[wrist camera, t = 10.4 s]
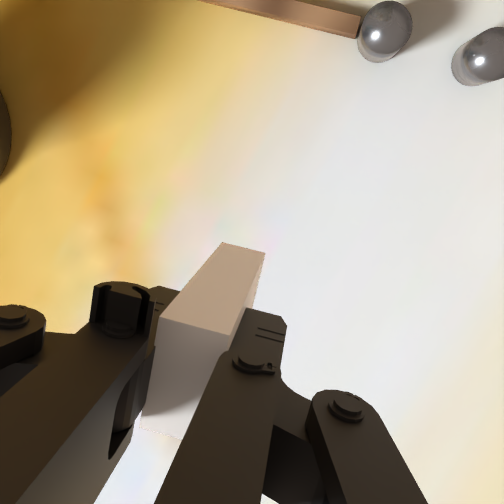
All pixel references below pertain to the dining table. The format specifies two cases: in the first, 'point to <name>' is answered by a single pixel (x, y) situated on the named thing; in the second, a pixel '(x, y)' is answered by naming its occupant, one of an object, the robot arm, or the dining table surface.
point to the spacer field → (399, 30)
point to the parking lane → (298, 14)
